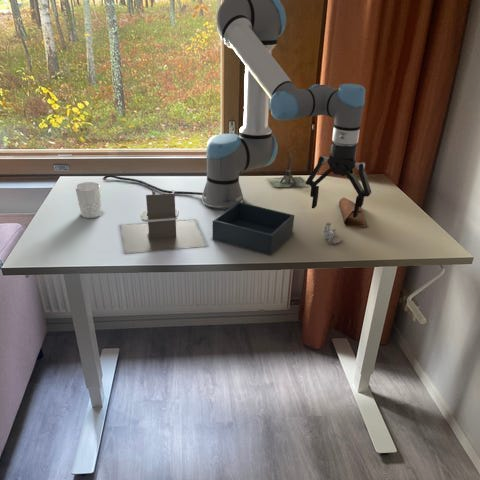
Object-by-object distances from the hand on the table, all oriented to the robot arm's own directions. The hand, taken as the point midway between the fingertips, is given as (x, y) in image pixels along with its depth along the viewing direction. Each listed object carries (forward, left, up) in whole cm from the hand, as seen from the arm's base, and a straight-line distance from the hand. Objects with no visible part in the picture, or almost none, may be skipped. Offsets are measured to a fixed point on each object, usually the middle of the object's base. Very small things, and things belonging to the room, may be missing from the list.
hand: (334, 211), depth 159 cm
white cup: (-78, -25, -10) cm, 83 cm away
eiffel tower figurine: (-32, +40, -10) cm, 52 cm away
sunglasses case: (+1, +22, -10) cm, 24 cm away
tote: (-23, -11, -10) cm, 27 cm away
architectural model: (-48, -26, -10) cm, 56 cm away
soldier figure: (0, 0, -10) cm, 10 cm away
